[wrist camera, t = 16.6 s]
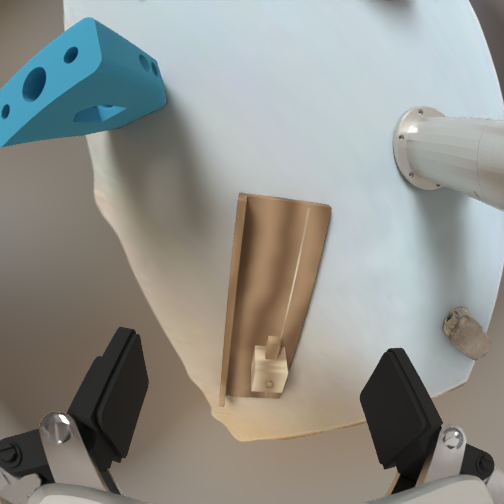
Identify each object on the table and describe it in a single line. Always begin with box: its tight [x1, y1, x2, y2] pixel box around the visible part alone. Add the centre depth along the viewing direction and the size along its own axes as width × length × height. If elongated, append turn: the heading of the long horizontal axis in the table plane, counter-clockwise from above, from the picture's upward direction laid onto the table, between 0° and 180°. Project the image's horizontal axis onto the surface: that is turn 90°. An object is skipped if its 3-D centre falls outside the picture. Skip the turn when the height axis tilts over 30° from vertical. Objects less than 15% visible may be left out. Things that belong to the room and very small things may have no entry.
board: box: [219, 193, 332, 407], centre depth 41 cm, size 12×39×4 cm, turn 173°
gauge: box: [251, 336, 288, 393], centre depth 42 cm, size 5×12×7 cm, turn 173°
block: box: [0, 18, 167, 147], centre depth 20 cm, size 12×5×20 cm, turn 107°
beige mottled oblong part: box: [443, 307, 491, 360], centre depth 45 cm, size 24×8×5 cm, turn 57°
